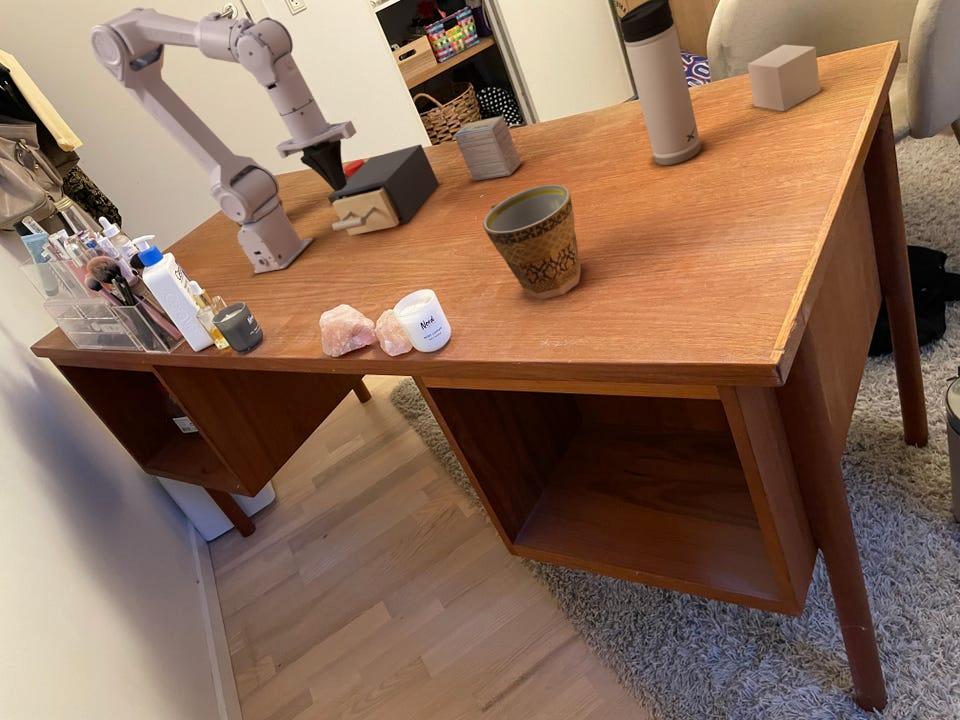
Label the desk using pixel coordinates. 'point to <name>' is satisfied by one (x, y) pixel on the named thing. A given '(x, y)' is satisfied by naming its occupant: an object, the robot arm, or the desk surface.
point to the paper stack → (488, 148)
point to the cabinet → (397, 179)
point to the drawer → (366, 211)
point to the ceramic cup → (537, 239)
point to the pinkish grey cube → (784, 77)
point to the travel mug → (661, 81)
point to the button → (353, 167)
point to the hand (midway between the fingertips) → (341, 187)
